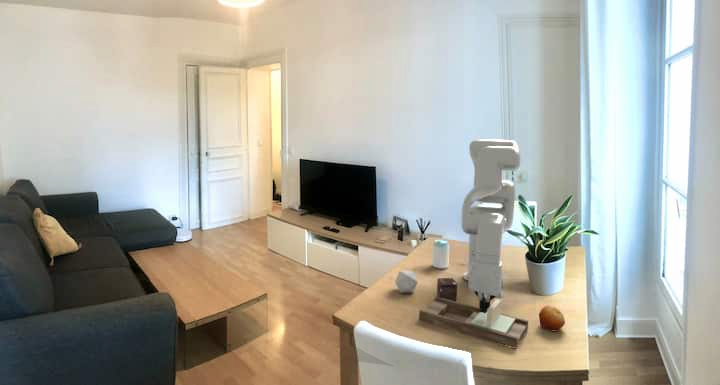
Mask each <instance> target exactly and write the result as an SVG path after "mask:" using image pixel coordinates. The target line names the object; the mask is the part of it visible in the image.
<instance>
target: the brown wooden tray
mask: <svg viewBox="0 0 720 385" xmlns="http://www.w3.org/2000/svg"><path fill="white" fill-rule="evenodd" d="M479 313H480V308H479V306H473V305H470V304H466V303H463V302H460V301H459V302H458V301H456V302H455V301H451V300H447V299H444V298H440V297H437V296H435V300H433V301H432V302H431V303H430V304H429V305H427V306H426V307H425V308H424V309H420V310H419V314H418V321H420V322H424V323H428V324H430V325H434V326H437V327H439V328H444V329H447V330H450V331H454V332H457V333H461V334H464V335H467V336H471V337H475V338H478V339H481V340H484V341H487V342H490V341H491V343H494V342H495V344H497V343H499V344H498V345H500V344H503V345H502V346H504V345H507V346H511V347H515V348H516V347H517V345H518V344H519V345H520V343H521V342H520V341H522V340H523V338H524V337H523V336H525V335H526V333H527V332H526V331H528V330H527V329H528V328H529V320H527V319H524V318H520V317H516V316H512V315H508V314H504V313H501V312H500V315H504V316H508V317H511V318H515V322H514V323H513V325H512V326H511V328H510V329H509V331H508V332H507V333H506V334H505V333H501V332H498V331H494V330H491V329H487V328H484V327H480V326H477V325H473V324H470V323H471V322H472V321H473V319H474V318H475V317H476V316H477V315H478V314H479ZM524 334H525V335H524ZM521 339H522V340H521ZM519 342H520V343H519ZM519 345H518V346H519ZM507 346H506V347H507ZM517 348H518V347H517ZM517 348H516V349H517Z"/></svg>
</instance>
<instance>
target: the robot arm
mask: <svg viewBox="0 0 720 385" xmlns="http://www.w3.org/2000/svg"><path fill="white" fill-rule="evenodd" d="M468 149H469V155H470V156H469V157H470V158H471V161H472V163H473V166H474V176H473V188H472V189H471V190H470V191H469V192H468V193H467V194H466V196H465V198H464V200H463V203H462V206H461V230H462V231H463V233H465V234H467V235H469V236H468V250H467V252H468V253H467V255H468V256H467V271H465V272H464V273H463V276H462V278H463V279H464V280H465V281H467V283H468V285H467V287H468V291H470V292H471V293H473V294H475V295H476V297H477V298H478V300H479V301H478V303H479V305H478V308H480V312H481V313H482V312H483V313H486V312H487V309H488V308H489V307H490V306H491V301H492V300H495V299H502V298H503V296H504V294H503V289H504V269H503V262H501V252H502V243H503V242H502V240H503V234H504V233H505V232H506V231H507V230H509V229H511V228H512V226H513V224H514V223H513V222H514V215H515V214H514V213H515V212H514V211H515V203H516V202H515V200H516V199H515V198H516V187H515V184H514V182H513V181H510V180H507V179H504V180H503V171H507V172H513V171H518V169H519V168H520V164H521V152H520V148H519V146H518V143H517V142H516V141H515V140H509V139H505V140H504V139H474V140H473V141H471V142H470V143H469V148H468ZM475 202H478V203H482V204H475ZM483 203H484V204H483ZM490 204H491V205H490ZM492 204H498V205H492ZM485 295H486V296H485Z"/></svg>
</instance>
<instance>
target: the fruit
mask: <svg viewBox="0 0 720 385" xmlns="http://www.w3.org/2000/svg"><path fill="white" fill-rule="evenodd" d="M538 318H539V324H540V325H539V326H541V327H542V328H545V329H546V330H548V329H549V330H548V331H552V330H557V331H559V330H561V329H562V327H564V325H565V323H566V319H565V316H564V314H563V312H561V310H559V309H558V308H557V307H555V306H551V305H546V306H544V307H542V308H541V310H540V312H539V314H538Z"/></svg>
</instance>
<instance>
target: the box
mask: <svg viewBox="0 0 720 385" xmlns="http://www.w3.org/2000/svg"><path fill="white" fill-rule="evenodd" d="M457 293H458V283H457V282H456V280H455V279H454V277H438V278H437V284H436V297H440V298H444V299H447V300H451V301H455V302H457V296H458V294H457Z"/></svg>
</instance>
